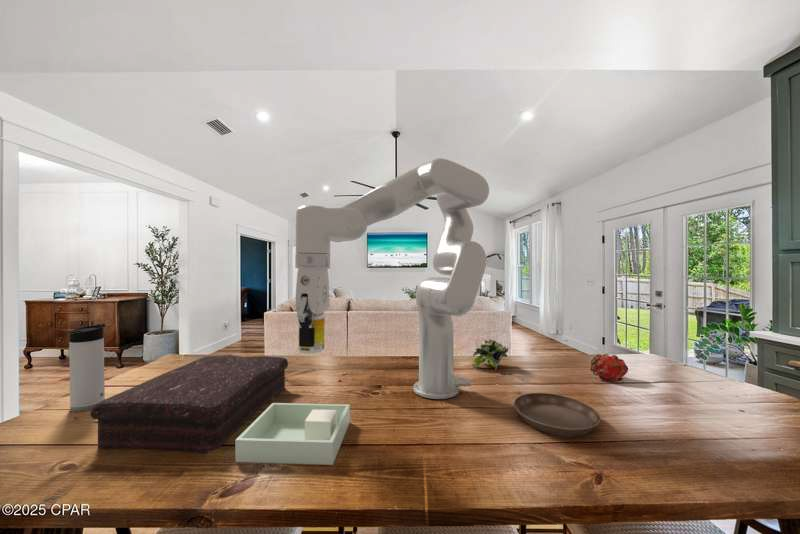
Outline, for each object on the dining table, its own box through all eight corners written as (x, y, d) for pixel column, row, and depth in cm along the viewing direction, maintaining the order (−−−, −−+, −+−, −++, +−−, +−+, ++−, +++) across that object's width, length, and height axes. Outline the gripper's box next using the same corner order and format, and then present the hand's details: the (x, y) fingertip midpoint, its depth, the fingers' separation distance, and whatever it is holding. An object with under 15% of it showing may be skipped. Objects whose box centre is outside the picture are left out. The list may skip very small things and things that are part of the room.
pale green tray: (349, 424, 74) (349, 404, 74) (332, 467, 58) (332, 442, 58) (272, 422, 74) (272, 402, 74) (235, 465, 59) (235, 440, 59)
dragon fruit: (586, 383, 103) (623, 388, 104) (603, 375, 96) (642, 380, 97) (580, 356, 108) (615, 361, 109) (596, 347, 101) (633, 352, 102)
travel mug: (111, 403, 85) (110, 324, 84) (77, 414, 79) (76, 329, 78) (98, 399, 87) (97, 322, 87) (65, 409, 81) (63, 327, 81)
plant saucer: (615, 446, 66) (615, 431, 66) (521, 437, 69) (521, 423, 69) (583, 407, 83) (583, 395, 83) (509, 402, 86) (509, 390, 86)
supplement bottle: (328, 351, 74) (329, 306, 74) (304, 355, 71) (305, 307, 71) (317, 346, 78) (318, 303, 78) (294, 350, 75) (295, 304, 75)
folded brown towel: (215, 458, 62) (215, 405, 61) (87, 453, 63) (86, 400, 63) (289, 388, 96) (289, 353, 95) (204, 386, 97) (204, 352, 97)
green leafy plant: (489, 379, 117) (506, 350, 119) (502, 385, 106) (520, 352, 109) (463, 361, 117) (480, 332, 120) (472, 365, 107) (491, 333, 109)
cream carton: (336, 434, 68) (336, 409, 68) (330, 447, 63) (330, 421, 63) (312, 433, 69) (312, 409, 69) (304, 447, 64) (304, 421, 64)
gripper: (317, 262, 66) (315, 353, 66) (338, 262, 83) (337, 335, 83) (280, 261, 66) (278, 352, 66) (309, 262, 83) (308, 334, 83)
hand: (311, 342), depth 74 cm, fingers closed on supplement bottle, 5 cm apart
